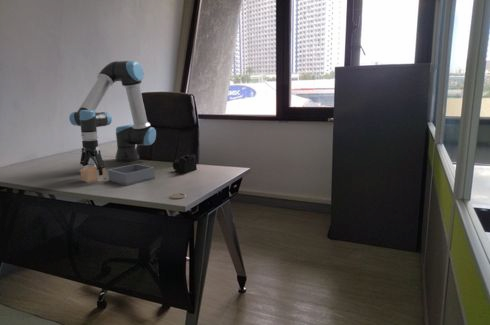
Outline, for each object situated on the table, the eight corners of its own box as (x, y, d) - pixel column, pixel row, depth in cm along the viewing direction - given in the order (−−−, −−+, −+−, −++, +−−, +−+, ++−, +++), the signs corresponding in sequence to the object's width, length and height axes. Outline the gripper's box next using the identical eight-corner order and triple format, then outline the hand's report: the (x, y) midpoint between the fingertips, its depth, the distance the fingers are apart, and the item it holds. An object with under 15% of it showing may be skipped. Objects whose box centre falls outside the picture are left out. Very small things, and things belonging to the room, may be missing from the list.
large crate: (136, 174, 204) (136, 163, 203) (154, 178, 195) (154, 167, 194) (109, 180, 191) (107, 169, 190) (126, 185, 182) (125, 174, 180)
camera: (184, 167, 219) (184, 151, 217) (198, 169, 214) (198, 153, 212) (169, 172, 207) (168, 155, 205) (184, 174, 202) (183, 157, 200)
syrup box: (95, 172, 208) (93, 148, 205) (86, 172, 210) (83, 147, 206) (101, 170, 214) (98, 146, 211) (92, 170, 215) (89, 146, 212)
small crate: (98, 176, 200) (97, 166, 198) (105, 178, 196) (104, 167, 194) (81, 180, 192) (80, 169, 191) (88, 182, 188) (87, 171, 187)
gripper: (70, 138, 194) (74, 177, 198) (96, 142, 179) (100, 184, 183) (84, 137, 199) (87, 174, 204) (109, 141, 185) (113, 181, 189)
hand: (93, 179), depth 194 cm, fingers open, 13 cm apart
